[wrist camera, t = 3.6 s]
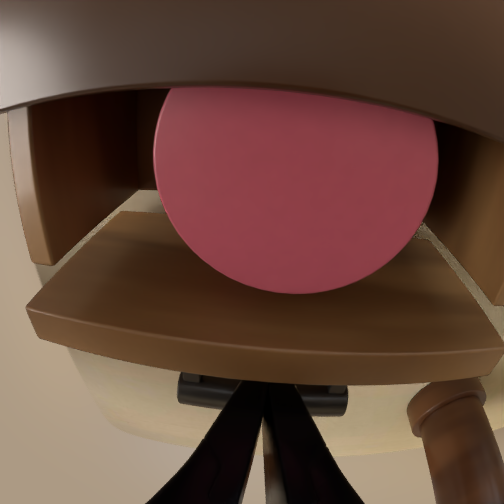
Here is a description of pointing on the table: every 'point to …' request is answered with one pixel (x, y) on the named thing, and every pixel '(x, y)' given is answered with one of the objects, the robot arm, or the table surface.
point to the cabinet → (264, 52)
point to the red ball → (292, 183)
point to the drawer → (238, 294)
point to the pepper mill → (458, 442)
